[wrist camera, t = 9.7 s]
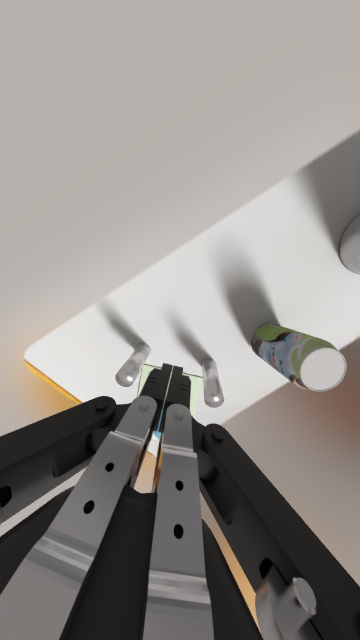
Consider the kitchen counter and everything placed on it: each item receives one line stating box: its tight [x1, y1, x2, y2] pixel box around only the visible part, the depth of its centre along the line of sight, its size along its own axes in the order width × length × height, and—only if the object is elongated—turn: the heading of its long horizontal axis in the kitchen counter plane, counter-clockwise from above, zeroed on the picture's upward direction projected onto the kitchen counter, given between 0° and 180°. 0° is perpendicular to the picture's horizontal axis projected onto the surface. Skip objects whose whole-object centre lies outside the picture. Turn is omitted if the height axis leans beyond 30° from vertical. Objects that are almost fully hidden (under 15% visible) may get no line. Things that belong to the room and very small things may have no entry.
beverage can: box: [251, 324, 346, 391], centre depth 23 cm, size 6×7×12 cm
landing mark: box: [138, 364, 203, 417], centre depth 34 cm, size 12×12×1 cm
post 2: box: [202, 359, 224, 408], centre depth 27 cm, size 3×3×9 cm
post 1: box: [116, 344, 150, 387], centre depth 28 cm, size 3×3×9 cm
